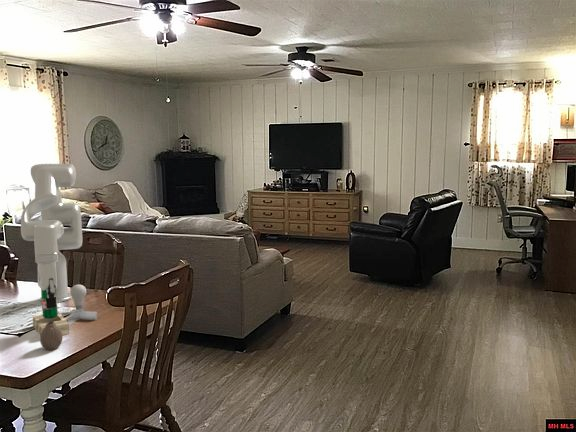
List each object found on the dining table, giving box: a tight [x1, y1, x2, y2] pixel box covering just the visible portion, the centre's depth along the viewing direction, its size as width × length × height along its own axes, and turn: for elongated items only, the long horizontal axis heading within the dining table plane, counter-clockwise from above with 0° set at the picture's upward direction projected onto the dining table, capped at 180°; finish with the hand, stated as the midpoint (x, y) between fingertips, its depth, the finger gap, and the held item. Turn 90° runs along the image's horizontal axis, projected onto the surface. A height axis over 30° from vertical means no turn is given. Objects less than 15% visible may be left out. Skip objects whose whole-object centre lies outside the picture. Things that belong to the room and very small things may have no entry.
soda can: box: [40, 287, 59, 319], centre depth 187 cm, size 5×5×12 cm
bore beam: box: [32, 311, 70, 336], centre depth 188 cm, size 16×9×4 cm, turn 37°
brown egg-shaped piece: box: [39, 322, 64, 351], centre depth 171 cm, size 7×7×9 cm
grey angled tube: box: [65, 308, 98, 326], centre depth 199 cm, size 8×12×3 cm
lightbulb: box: [69, 284, 87, 310], centre depth 210 cm, size 6×6×11 cm
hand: (49, 305), depth 187 cm, fingers closed on soda can, 5 cm apart
